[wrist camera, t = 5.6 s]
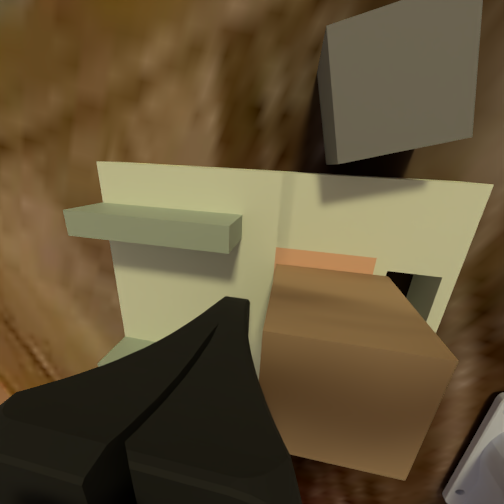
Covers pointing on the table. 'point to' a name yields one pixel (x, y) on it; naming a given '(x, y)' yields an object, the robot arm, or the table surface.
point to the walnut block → (350, 369)
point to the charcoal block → (399, 78)
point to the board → (267, 238)
